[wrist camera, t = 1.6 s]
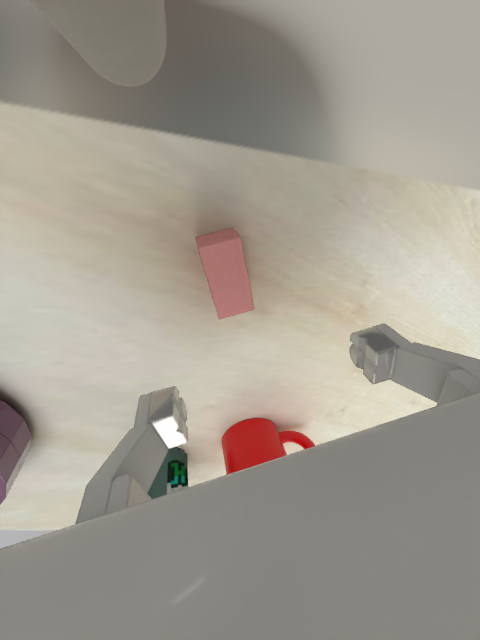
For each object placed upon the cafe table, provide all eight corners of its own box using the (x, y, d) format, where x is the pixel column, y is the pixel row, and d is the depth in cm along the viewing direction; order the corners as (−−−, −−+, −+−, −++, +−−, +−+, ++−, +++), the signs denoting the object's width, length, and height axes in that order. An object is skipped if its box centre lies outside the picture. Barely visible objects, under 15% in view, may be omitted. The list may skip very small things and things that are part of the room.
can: (185, 470, 36) (190, 632, 24) (139, 476, 34) (119, 653, 22) (187, 444, 33) (194, 615, 21) (137, 449, 31) (112, 637, 19)
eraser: (195, 237, 20) (198, 248, 17) (232, 227, 20) (240, 236, 17) (214, 302, 23) (219, 319, 20) (246, 293, 23) (254, 309, 21)
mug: (304, 437, 38) (330, 494, 31) (226, 459, 37) (237, 523, 30) (304, 404, 34) (335, 462, 27) (217, 427, 32) (226, 494, 26)
